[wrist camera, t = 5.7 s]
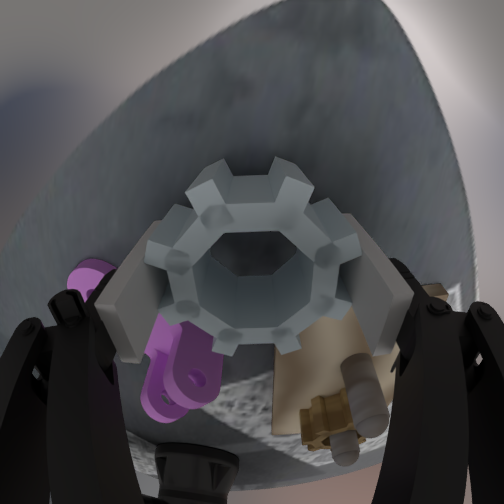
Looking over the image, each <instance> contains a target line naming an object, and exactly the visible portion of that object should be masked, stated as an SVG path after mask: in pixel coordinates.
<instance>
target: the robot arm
mask: <svg viewBox="0 0 504 504" xmlns="http://www.w3.org/2000/svg"><path fill="white" fill-rule="evenodd" d="M342 214H343V216H344V217H345V218H346V219H347V221H348V222H349V223H350V225H351V226H352V227H353V228H354V230H355V231H356V232H357V235H358V239H359V243H360V246H361V250H362V255H361V256H359V257H357V258H354V259H352V260H349V261H347V262H344V263H342V264H340V267H339V274H340V277H341V279H342V281H343V283H344V285H345V287H346V289H347V292H348V294H349V296H350V298H351V300H352V303H353V304H352V308H353V310H354V313H355V315H356V317H357V320H358V322H359V324H360V327H361V329H362V332H363V334H364V336H365V339H366V341H367V344H368V346H369V349H370V351H371V354H372V356H379V355H385V354H390V353H391V352H392V350H393V348H394V345H395V343H397V345H398V347H399V349H400V351H399V353H398V355H397V357H396V360H395V362H394V364H393V366H392V368H391V371H390V372H391V373H393V371H394V369H395V368H396V372H395V384H394V394H393V403H392V411H391V418H390V425H389V431H388V437H387V442H386V447H385V452H384V457H383V462H382V466H381V470H380V475H379V479H378V482H377V486H376V490H375V493H374V497H373V500H372V503H371V504H463V502H464V496H465V489H466V479H467V469H468V466H469V474H470V482H471V492H472V504H504V323H503V322H502V320H501V318H500V317H499V315H498V314H497V312H496V311H495V310H494V309H493V308H492V307H491V306H490V305H489V304H487V303H484V302H478V301H477V302H473V303H472V304H471V306H470V308H469V310H468V312H467V313H465V312H455V311H453V310H452V308H451V306H450V305H449V304H448V303H447V302H446V301H444V300H442V299H440V298H437V297H430V296H429V295H428V294H427V292H426V291H425V290H424V288H423V287H422V286H421V285H420V283H419V282H418V281H417V280H416V279H415V277H414V276H413V274H412V273H410V271H409V270H408V268H407V267H406V266H405V265H404V264H403V263H402V262H400V261H399V260H397V259H395V258H387V256H386V255H385V254H384V253H383V251H382V250H381V249H380V248H379V246H378V245H377V244H376V243H375V241H374V240H373V239H372V238H371V237H370V235H369V234H368V233H367V232H366V231H365V230H364V228H363V227H362V226H361V225H360V224H359V223H358V221H357V220H356V219H355V218H354V217H353V216H352V215H351V213H342ZM161 221H162V220H158V221H154V222H153V223H152V224H151V225H150V227H149V228H148V229H147V230H146V232H145V233H144V234H143V236H142V237H141V238H140V240H139V241H138V242H137V244H136V245H135V246H134V247H133V249H132V250H131V252H130V253H129V254H128V256H127V257H126V258H125V260H124V261H123V262H122V264H121V265H120V267H119V268H118V269H112V270H111V271H110V272H108V273H107V274H106V275H104V276H103V278H102V279H101V281H100V282H99V285H97V286H96V288H95V289H94V291H93V292H92V293H91V295H90V296H89V298H88V299H87V300H86V302H84V300H83V297H82V295H81V292H79V291H78V290H76V289H67V290H64V291H61V292H59V293H58V294H56V295H54V296H53V297H52V298H51V299H50V301H49V303H48V307H49V309H50V311H51V313H52V315H53V317H54V319H55V321H56V323H57V326H51V327H44V326H43V324H42V322H41V320H40V319H39V318H36V317H32V318H28V319H25V320H24V321H22V323H20V324H19V325H18V327H17V328H16V330H15V331H14V333H13V335H12V337H11V339H10V341H9V342H8V344H7V346H6V348H5V350H4V352H3V354H2V356H1V358H0V504H49V499H50V492H51V498H52V504H227V496H228V493H229V491H230V489H231V486H232V484H233V482H234V480H235V477H236V475H237V473H238V470H239V459H238V458H237V457H236V456H235V455H233V454H230V453H228V452H225V451H221V450H218V449H213V448H209V447H203V446H197V445H190V444H179V443H166V444H160V445H158V446H157V447H156V451H155V463H156V469H157V474H158V479H159V484H160V488H159V494H158V498H155V497H151V496H148V495H144V494H141V490H140V487H139V484H138V480H137V477H136V473H135V469H134V465H133V461H132V457H131V453H130V448H129V444H128V439H127V434H126V429H125V424H124V418H123V412H122V406H121V399H120V392H119V384H118V375H117V367H116V364H115V362H114V361H113V358H114V356H115V354H116V351H117V353H118V355H119V357H120V359H121V361H122V362H128V363H137V364H140V363H141V360H142V357H143V354H144V351H145V348H146V346H147V343H148V340H149V337H150V335H151V332H152V329H153V327H154V324H155V321H156V319H157V316H158V313H159V312H158V310H157V309H158V307H159V304H160V302H161V299H162V297H163V295H164V292H165V290H166V287H167V285H168V282H169V278H168V274H167V270H164V269H161V268H158V267H155V266H152V265H149V264H146V263H144V257H145V252H146V246H147V241H148V239H149V237H150V236H151V235H152V233H153V232H154V230H155V229H156V228H157V226H158V225H159V224H160V222H161ZM479 354H481V356H482V358H483V360H482V361H481V363H480V364H479V365H478V364H477V363H476V358H477V357H478V355H479ZM34 367H35V369H36V370H37V371H38V373H39V374H40V375H39V377H38V379H36V378H35V377H34V376H33V374H32V371H33V369H34Z"/></svg>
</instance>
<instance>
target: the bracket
mask: <svg viewBox="0 0 504 504" xmlns="http://www.w3.org/2000/svg"><path fill="white" fill-rule="evenodd" d="M112 269H117V268H116V267H114V266H113V265H111V264H109V263H107V262H105V261H102V260H99V259H87V260H84V261H82V262H81V263H80V264H79V265H78V266H77V267H76V268H75V269H74V270H73V272H72V273H71V274H70V276H69V278H68V282H67V287H68V289H76V290H78V291H79V292H81V295H82V297H83V300H84V302H86V300H87V299H88V298H89V296H90V295H91V293H92V292H93V291H94V289H95V288H96V286H97V285H99V282H100V281H101V279H102V278H103V276H104V275H106V274H107V273H108V272H110V271H111V270H112ZM212 344H213V336H212V335H210V334H209V333H207V332H205V331H204V330H202V329H201V328H199V327H197V326H196V325H194V324H193V323H191V322H190V321H188V320H187V321H184V322H181V323H178V324H175V325H172V326H170V325H169V324H168V323H167V322H166V320H165V319H164V318H163V317H162V315H161V314H160V313H158V316H157V319H156V321H155V324H154V327H153V329H152V332H151V335H150V337H149V340H148V343H147V346H146V348H145V351H144V353H145V354H147V355H148V356H149V357H150V359H151V362H150V365H149V369H148V372H147V375H146V378H145V382H144V385H143V388H142V391H141V403H142V406H143V408H144V410H145V412H146V413H147V414H148V415H149V416H150V417H151V418H153V419H154V420H156V421H158V422H162V423H171V422H173V421H175V420H177V419H179V418H181V417H183V416H185V415H186V414H187V412H188V411H189V409H197V408H200V407H202V406H204V405H206V404H208V403H210V402H211V401H213V400H214V399H216V398H217V396H218V395H219V392H220V386H221V376H222V367H223V357H224V354H220V353H216V352H212ZM194 383H195V385H194ZM161 394H162V395H164V396H166V397H167V398H168V400H169V403H170V405H168V404H166V403H165V402H164V401H163V400H162V397H161Z"/></svg>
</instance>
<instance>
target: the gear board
mask: <svg viewBox="0 0 504 504" xmlns="http://www.w3.org/2000/svg"><path fill="white" fill-rule="evenodd" d="M422 287H423V288H424V290H425V291H426V292H427V294H428V295H429V296H430V297H437V298H440V299H442V300H444V301H446V300H447V298H448V295H449V294H448V293H447V291H446V290H445V289H444V287H443V286H442V285H441V284H432V285H423V286H422ZM299 336H300V342H301V347H302V349H299V350H296V351H293V352H289V353H286V354H283V355H281V354H280V352H279V350H278V349H277V347H276V346H275V344H274V377H273V403H272V435H283V434H298V433H301V439H302V445H308V450H309V451H316V450H319V449H331V452H332V458H333V459H334V461H335V463H336V464H338V465H340V466H350V465H352V464H354V463H355V462H356V461H357V459H358V457H359V452H360V448H359V444H361V443H363V442H365V441H366V438H374V437H377V436H379V435H381V434H382V433H383V432H384V431H385V430H386V429H387V427H388V424H389V417H390V414H389V411H388V408H387V407H388V405H389V404H390V402H391V401H392V399H393V394H394V384H395V372H396V368H395V369H394V371H393V373H391V372H390V371H391V368H392V366H393V364H394V362H395V360H396V357H397V355H398V353H399V351H400V349H399V347H398V345H397V343H395V345H394V348H393V350H392V352H391V353H390V354H385V355H379V356H372V354H371V351H370V349H369V346H368V344H367V341H366V339H365V336H364V334H363V332H362V329H361V327H360V324H359V322H358V320H357V317H356V315H355V313H354V310H353V308H352V306H351V307H350V309H349V310H348V312H347V313H346V315H345V316H344V317H343V319H342V320H337V319H333V318H329V317H325V316H322V317H321V318H319V319H318V320H317V321H315V322H314V323H313V324H311V325H310V326H309V327H307V328H306V329H305V330H303V331H302V332H300V333H299Z"/></svg>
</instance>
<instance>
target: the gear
mask: <svg viewBox="0 0 504 504" xmlns="http://www.w3.org/2000/svg"><path fill="white" fill-rule="evenodd" d="M314 188H315V187H314V186H313V184H312V183H311V182H310V181H309V180H308V178H307V177H306V176H305V175H304V173H303V172H302V171H301V170H300V169H299V167H298V166H297V165H296V164H294V163H292V162H289V161H287V160H284V159H281V158H279V157H276V156H275V158H274V161H273V163H272V166H271V168H270V170H269V173H268V175H249V176H233V175H232V173H231V171H230V169H229V167H228V165H227V163H226V161H225V159H224V158H223V159H221V160H219V161H217V162H215V163H213V164H211V165H209V166H207V167H205V168H204V169H203V170H202V171H201V173H200V174H199V175H198V176H197V178H196V179H195V180H194V181H193V183H192V184H191V185H190V186H189V188H188V189H187V190H186V192H185V194H186V195H187V197H188V199H189V201H190V202H191V204H192V206H193V208H194V209H191V208H188V207H185V206H182V205H179V204H176V203H175V204H174V205H173V206H172V208H171V209H170V210H169V212H168V213H167V214H166V216H165V217H164V218H163V220H162V221H161V222H160V224H159V225H158V226H157V228H156V229H155V230H154V232H153V233H152V235H151V236H150V237H149V239H148V241H147V246H146V252H145V257H144V263H146V264H149V265H152V266H155V267H158V268H161V269H164V270H167V274H168V278H169V282H168V285H167V287H166V290H165V292H164V295H163V297H162V299H161V302H160V304H159V307H158V309H157V310H158V312H159V313H160V314H161V315H162V317H163V318H164V319H165V320H166V322H167V323H168V324H169V325H170V326H172V325H175V324H178V323H181V322H184V321H187V320H188V321H190V322H191V323H193V324H194V325H196V326H197V327H199V328H201V329H202V330H204V331H205V332H207V333H209V334H210V335H212V336H213V344H212V352H216V353H220V354H224V355H228V356H233V354H234V352H235V350H236V348H237V346H238V344H266V343H274V344H275V346H276V347H277V349H278V350H279V352H280V354H281V355H283V354H286V353H289V352H293V351H296V350H299V349H302V347H301V342H300V336H299V333H300V332H302V331H303V330H305V329H306V328H307V327H309V326H310V325H311V324H313V323H314V322H315V321H317V320H318V319H319V318H321V317H322V316H325V317H329V318H333V319H337V320H342V319H343V317H344V316H345V315H346V313H347V312H348V310H349V309H350V307H351V306H352V304H353V303H352V300H351V298H350V296H349V294H348V292H347V289H346V287H345V285H344V283H343V281H342V279H341V277H340V274H339V267H340V264H342V263H344V262H347V261H349V260H352V259H354V258H357V257H359V256H361V255H362V250H361V246H360V243H359V239H358V235H357V232H356V231H355V230H354V228H353V227H352V226H351V225H350V223H349V222H348V221H347V219H346V218H345V217H344V216H343V214H342V213H341V212H340V211H339V210H338V208H337V207H336V206H335V205H334V203H333V202H332V201H331V200H330V199H329V197H328V198H326V199H323V200H321V201H319V202H316V203H314V204H310V203H309V202H308V201H309V199H310V197H311V195H312V192H313V190H314ZM258 231H280V232H281V233H282V234H283V235H284V236H285V237H286V238H287V239H289V240H290V241H291V242H292V243H293V244H294V245H295V246H296V247H297V252H296V254H295V255H294V256H293V257H292V258H290V259H289V260H288V261H287V262H286V263H285V264H284V265H283V266H281V267H280V268H279V269H278V270H277V271H276V272H275V273H273V274H272V275H261V276H237V275H235V274H234V273H233V272H231V271H230V270H229V269H227V268H226V267H225V266H223V265H222V264H221V263H219V262H218V261H217V260H215V259H214V258H213V257H212V256H211V251H210V247H211V246H212V245H213V244H214V243H215V242H216V241H217V240H218V239H219V238H220V237H221V236H222V235H223V233H232V232H258Z"/></svg>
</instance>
